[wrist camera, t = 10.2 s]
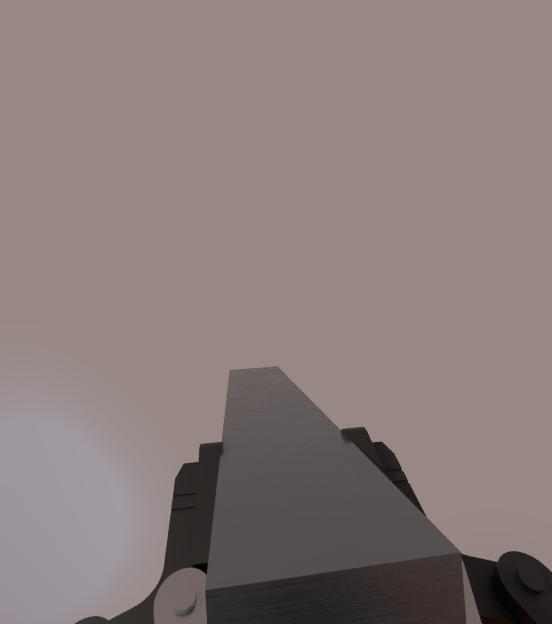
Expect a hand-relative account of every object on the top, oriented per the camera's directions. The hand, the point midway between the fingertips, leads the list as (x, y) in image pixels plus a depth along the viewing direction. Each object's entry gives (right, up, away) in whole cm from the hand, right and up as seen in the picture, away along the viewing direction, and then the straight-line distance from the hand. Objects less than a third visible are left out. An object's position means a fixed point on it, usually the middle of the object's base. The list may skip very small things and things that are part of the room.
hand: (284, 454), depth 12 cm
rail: (0, -4, +6) cm, 7 cm away
